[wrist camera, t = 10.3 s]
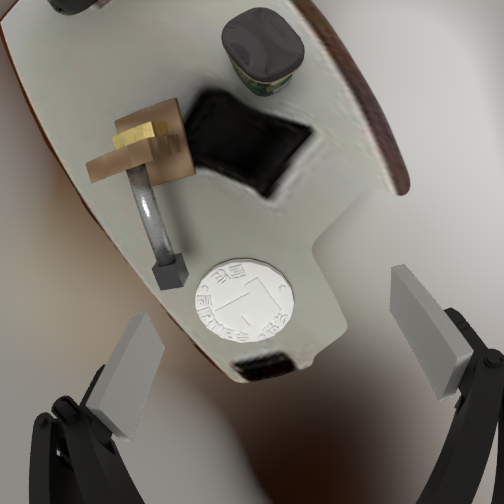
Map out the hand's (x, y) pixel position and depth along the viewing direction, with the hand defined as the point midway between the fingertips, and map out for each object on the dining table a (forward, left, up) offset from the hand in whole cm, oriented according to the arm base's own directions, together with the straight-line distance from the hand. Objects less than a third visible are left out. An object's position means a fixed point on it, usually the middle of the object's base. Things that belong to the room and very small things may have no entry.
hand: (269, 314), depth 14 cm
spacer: (-13, -17, -32) cm, 39 cm away
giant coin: (+23, -9, -37) cm, 45 cm away
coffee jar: (-19, +4, -37) cm, 42 cm away
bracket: (-10, -17, -37) cm, 42 cm away
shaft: (0, -17, -29) cm, 33 cm away
